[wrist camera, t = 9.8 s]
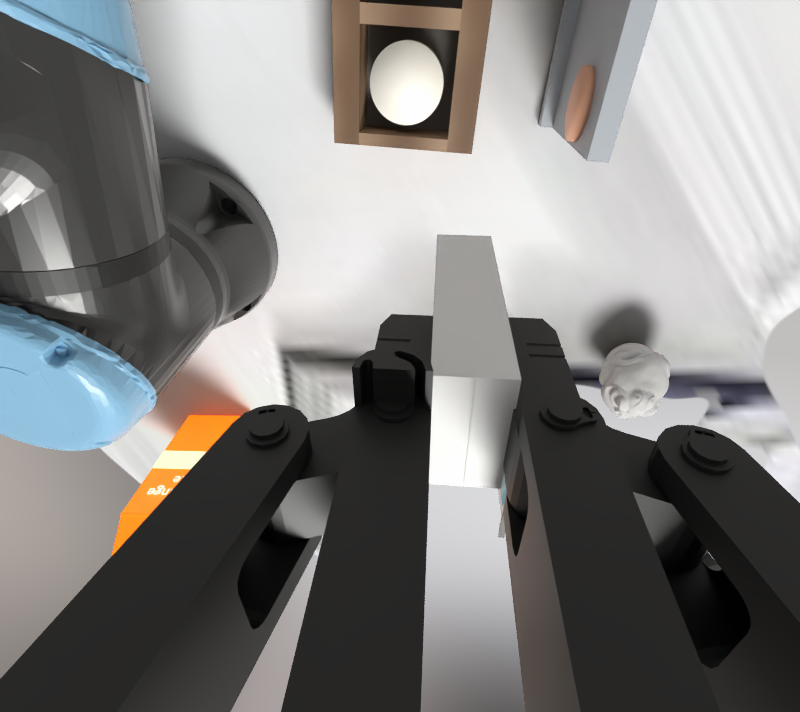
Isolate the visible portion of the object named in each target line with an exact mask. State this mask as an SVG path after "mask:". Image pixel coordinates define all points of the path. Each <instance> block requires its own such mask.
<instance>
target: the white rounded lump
mask: <svg viewBox="0 0 800 712" xmlns="http://www.w3.org/2000/svg"><path fill="white" fill-rule="evenodd" d="M601 370H602V371H601V373H600V376H599V381H600V383H601V385H603V386H602V388H601V395H602V398H603V400H604V402H605V404H606V405H607V407H608V408H609V409H610V411H611V412H612V413H613V414H614V415H615V416H617V417H619V418H622V419H629V418H634V417H638V415H641V416H651V415H652V414H654V413H655V412H656V411H657V410H658V407H657V405H658V404H660V402H661V401H660V400H661V399H662V397H663V396H664V394H665V393H666V392H667V389H668V386H669V379H668V378H669V377H670V371H669V370H670V364H669V362H668V361H667V359H666V358H665V357H664V356H663V355H661V354H659V353H657V352H654V351H653V350H652V349H650V348H649V347H647V346H645V345H642V344H638V343H626V344H622V345H620V346H617V347H616V348H614V349H613V350H612V351H611V352H610V353H609V354H608V355H607V357H606V359H605V362H604V363H603V366H602V369H601Z"/></svg>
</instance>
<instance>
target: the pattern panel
mask: <svg viewBox="0 0 800 712" xmlns="http://www.w3.org/2000/svg"><path fill="white" fill-rule="evenodd" d="M656 3H657V0H564V3H563V8H562V13H561V18H560V22H559V27H558V32H557V37H556V42H555V47H554V51H553V56H552V61H551V66H550V71H549V75H548V80H547V85H546V90H545V95H544V100H543V104H542V109H541V114H540V119H539V124H538V125H539V126H540V127H552V128H553V129H554V130H555V131H557V132H558V133H559V134H560V135H561V136H562V137H563V138H564V139H565V140H566V141H567V142H568V143H569V144H570V145H571V146H572V147H573V148H574V149H575V150H576V151H577V152H578V153H579V154H580V155H581V156H582V157H583V158H584V159H586V160H587V161H595V162H607V163H609V160H610V157H611V154H612V150H613V147H614V144H615V140H616V137H617V134H618V130H619V127H620V124H621V120H622V117H623V114H624V110H625V107H626V104H627V100H628V97H629V94H630V90H631V87H632V84H633V80H634V77H635V74H636V70H637V67H638V64H639V60H640V57H641V54H642V50H643V47H644V44H645V40H646V37H647V34H648V30H649V27H650V24H651V20H652V17H653V14H654V10H655V7H656Z"/></svg>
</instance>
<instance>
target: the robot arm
mask: <svg viewBox="0 0 800 712" xmlns="http://www.w3.org/2000/svg"><path fill="white" fill-rule="evenodd" d="M147 84H150V77H149V74H148V73H147V71H146V70H145V69H144V66H143V62H142V58H141V53H140V49H139V44H138V39H137V34H136V29H135V24H134V19H133V14H132V10H131V6H130V2H129V0H0V434H1V435H4V436H7V437H9V438H12V439H15V440H17V441H21V442H24V443H27V444H31V445H34V446H39V447H44V448H49V449H56V450H67V451H84V450H92V449H96V448H100V447H103V446H107V445H109V444H111V443H112V442H114V441H116V440H118V439H119V438H121V437H122V436H124V435H125V434H126V433H127V432H128V431H129V430H130V429H131V428H132V427H133V426H134V425H135V424H136V423H137V422H138V421H139V420H140V419H141V418H142V417H143V416H144V415H145V414H147V413H149V412H150V411H151V410H152V409H153V408H154V406H155V405H156V403H157V401H156V400H157V399H158V397H159V396H160V395H161V394H162V392H163V391H164V390H165V389H166V387H167V386H168V385H169V384H170V382H171V381H172V380H173V379H174V377H175V376H176V375H177V374H178V372H179V371H180V370H181V369H182V367H183V366H184V365H185V364H186V362H187V361H188V360H189V359H190V357H191V356H192V355H193V354H194V352H195V351H196V350H197V349H198V347H199V346H200V345H201V344H202V342H203V341H204V340H205V339H206V337H207V336H208V335H209V333H210V332H211V331H212V330H213V329H215V328H218V327H220V326H222V325H224V324H227V323H229V322H231V321H233V320H236V319H238V318H240V317H242V316H244V315H246V314H247V313H248V312H250V311H251V310H252V309H253V308H255V307H256V306H257V305H258V304H259V302H260V301H261V300H262V298H263V297H264V296H265V294H266V293H267V292H268V290H269V288H270V287H271V285H272V283H273V281H274V278H275V275H276V271H277V264H278V251H277V244H276V239H275V236H274V232H273V230H272V227H271V225H270V222H269V220H268V218H267V216H266V215H265V213H264V211H263V210H262V208H261V207H260V205H259V204H258V203H257V201H256V200H255V199H254V198H253V196H252V195H251V194H250V193H249V192H248V191H247V190H246V189H245V188H244V187H243V186H242V185H241V184H239V183H238V182H237V181H236V180H234V179H233V178H232V177H230V176H229V175H227V174H226V173H224V172H222V171H221V170H219V169H217V168H215V167H212V166H210V165H208V164H205V163H202V162H199V161H195V160H191V159H184V158H166V159H160V160H158V153H157V146H156V139H155V132H154V126H153V119H152V112H151V105H150V98H149V92H148V85H147ZM352 373H353V386H354V400H355V407H354V408H352V409H351V410H349V411H347V412H345V413H343V414H341V415H338V416H335V417H331V418H327V419H321V420H316V421H310V422H308V420H307V418H306V417H305V416H304V415H303V413H302V412H301V411H300V410H297V409H295V408H293V407H290V406H286V405H268V406H262V407H258V408H256V409H253V410H251V411H249V412H246V413H244V414H243V415H242V416H240V417H239V418H238V419H237V420H235V421H234V422H233V423H232V424H231V425H230V426H229V427H228V429H227V430H226V431H225V432H224V433H223V434H222V435H221V436H220V437H219V439H218V440H217V441H216V442H215V443H214V444H213V445H212V446H211V447H210V448H209V450H208V451H207V452H206V453H205V454H204V455H203V456H202V457H201V458H200V459H199V461H198V462H197V463H196V464H195V465H194V466H193V467H192V468H191V469H190V470H189V472H188V473H187V474H186V475H185V476H184V477H183V478H182V479H181V480H180V482H179V483H178V484H177V485H176V486H175V487H174V488H173V489H172V490H171V491H170V493H169V494H168V495H167V496H166V497H165V498H164V499H163V500H162V501H161V502H160V504H159V505H158V506H157V507H156V508H155V509H154V510H153V511H152V512H151V514H150V515H149V516H148V517H147V518H146V519H145V520H144V521H143V522H142V523H141V525H140V526H139V527H138V528H137V529H136V530H135V531H134V532H133V533H132V534H131V536H130V537H129V538H128V539H127V540H126V541H125V542H124V543H123V544H122V546H121V547H120V548H119V549H118V550H117V551H116V552H115V553H114V554H113V555H112V557H111V558H110V559H109V560H108V561H107V562H106V563H105V564H104V565H103V567H102V568H101V569H100V570H99V571H98V572H97V573H96V574H95V575H94V576H93V578H92V579H91V580H90V581H89V582H88V583H87V584H86V585H85V586H84V587H83V589H82V590H81V591H80V592H79V593H78V594H77V595H76V596H75V597H74V599H73V600H72V601H71V602H70V603H69V604H68V605H67V606H66V607H65V608H64V610H63V611H62V612H61V613H60V614H59V615H58V616H57V617H56V618H55V619H54V621H53V622H52V623H51V624H50V625H49V626H48V627H47V628H46V629H45V631H44V632H43V633H42V634H41V635H40V636H39V637H38V638H37V639H36V640H35V641H34V643H33V644H32V645H31V646H30V647H29V648H28V649H27V650H26V652H25V653H24V654H23V655H22V656H21V657H20V658H19V659H18V660H17V661H16V662H15V664H14V665H13V666H12V667H11V668H10V669H9V670H8V671H7V672H6V674H5V675H4V676H3V677H2V678H1V679H0V712H230V711H231V709H232V708H233V706H234V704H235V702H236V700H237V698H238V696H239V694H240V692H241V690H242V688H243V687H244V685H245V683H246V681H247V679H248V677H249V675H250V673H251V671H252V670H253V667H254V666H255V664H256V662H257V660H258V658H259V656H260V654H261V652H262V650H263V648H264V647H265V645H266V643H267V641H268V639H269V637H270V635H271V633H272V631H273V629H274V628H275V626H276V624H277V622H278V620H279V618H280V616H281V614H282V612H283V610H284V609H285V607H286V605H287V603H288V601H289V599H290V597H291V595H292V593H293V591H294V590H295V588H296V585H297V584H298V582H299V580H300V578H301V576H302V574H303V572H304V571H305V568H306V567H307V565H308V563H309V561H310V559H311V557H312V555H313V553H314V552H315V550H316V548H317V546H318V544H319V542H320V540H321V537H322V535H324V536H323V540H322V544H321V548H320V552H319V557H318V561H317V565H316V569H315V574H314V577H313V582H312V586H311V590H310V594H309V598H308V602H307V606H306V610H305V614H304V619H303V623H302V627H301V631H300V635H299V639H298V643H297V648H296V652H295V656H294V661H293V664H292V669H291V672H290V677H289V681H288V685H287V689H286V693H285V697H284V702H283V706H282V710H281V712H420V709H421V682H422V654H423V627H424V601H425V600H424V599H425V573H426V547H427V544H426V543H427V520H428V493H429V484H437V485H452V486H467V487H483V488H498V489H501V486H502V481H503V476H505V483H506V491H507V492H506V498H505V503H504V508H503V513H502V518H501V523H500V528H499V536H498V537H503V538H504V536H505V533H506V541H507V550H508V559H509V568H510V577H511V585H512V595H513V603H514V612H515V621H516V630H517V639H518V647H519V656H520V665H521V674H522V683H523V692H524V701H525V709H526V712H800V503H799V502H798V501H797V500H796V499H795V498H794V497H793V496H792V495H791V494H790V493H789V492H787V491H786V490H785V489H784V488H783V487H782V486H781V485H780V484H779V483H778V482H777V481H776V480H775V479H774V478H773V477H772V476H771V475H770V474H769V473H768V472H767V471H766V470H765V469H764V468H763V467H762V466H760V464H759V463H757V462H756V461H755V460H754V459H753V458H752V457H751V456H750V455H749V454H748V453H747V452H746V451H745V450H744V449H742V448H741V447H740V446H739V445H737V444H736V443H735V442H733V441H732V440H731V439H729V438H727V437H725V436H723V435H721V434H719V433H717V432H715V431H713V430H709V429H706V428H702V427H698V426H694V425H677V426H673V427H670V428H667V429H665V430H664V431H663V432H662V433H661V435H660V436H659V437H658V439H657V441H652V440H648V439H645V438H641V437H637V436H634V435H630V434H626V433H624V432H620V431H618V430H615V429H612V428H610V427H608V426H607V425H606V424H605V421H604V419H603V417H602V416H601V414H600V413H599V412H598V410H597V409H596V408H595V407H594V406H592V405H591V404H590V403H588V402H587V401H586V400H583V399H581V398H580V396H579V394H578V391H577V388H576V385H575V383H574V380H573V377H572V374H571V372H570V369H569V366H568V363H567V361H566V359H565V355H564V352H563V350H562V347H561V344H560V341H559V338H558V336H557V333H556V331H555V330H554V329H553V328H552V327H551V326H550V325H549V324H548V323H546V322H545V321H544V320H543V319H534V318H509V317H508V314H507V310H506V305H505V300H504V295H503V291H502V286H501V281H500V277H499V272H498V267H497V263H496V258H495V253H494V249H493V244H492V239H491V236H467V235H437V250H436V271H435V291H434V312H433V316H422V315H397V314H391V315H390V316H389V317H388V318H387V319H386V320H385V321H384V322H383V323H382V324H381V325H380V329H379V334H378V339H377V343H376V347H375V350H371V351H368V352H366V353H365V354H363V355H362V356H360V357H359V358H357V360H356V362H355V363H354V365H353V367H352ZM708 552H709V553H710V554H711V556H712V557H713V558H714V559H713V558H712V557H711V556H710V554H709V553H708Z"/></svg>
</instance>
